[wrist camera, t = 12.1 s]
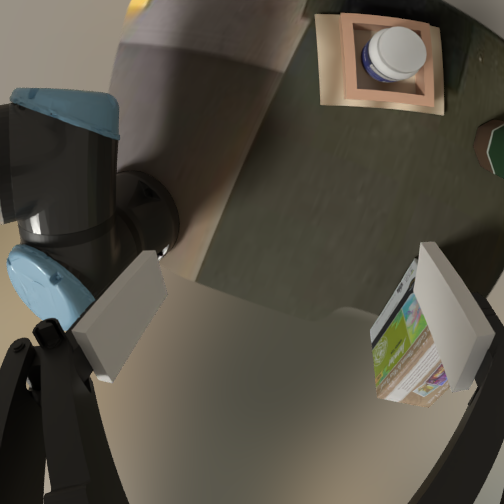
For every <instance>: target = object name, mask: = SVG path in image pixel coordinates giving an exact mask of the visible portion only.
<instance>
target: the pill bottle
mask: <svg viewBox="0 0 504 504" xmlns="http://www.w3.org/2000/svg"><path fill="white" fill-rule="evenodd" d="M426 56H427V53H426V47H425V45H424V42H423V41H422V39H421V38H420V37H419V36H418V35H417V34H416V33H415V32H414V31H412V30H410V29H408V28H405V27H399V26H397V27H391V28H386V29H382V30H380V31H378V32H377V33H375V34H374V35H373V36H372V38H371V39H370V40H369V41H368V42H367V43H366V44H365V46H364V47H363V49H362V51H361V56H360V59H361V64H362V67H363V69H364V70H365V72H366V73H367V74H368V75H369V76H370V77H371V78H373V79H375V80H376V81H379V82H383V83H391V82H396V81H400V80H405V79H408V78H410V77H412V76H414V75H415V74H416V73H417V72H418V70H419V69H420V68H421V67H422V66H423V65H424V63H425V61H426Z"/></svg>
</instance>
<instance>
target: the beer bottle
mask: <svg viewBox="0 0 504 504" xmlns="http://www.w3.org/2000/svg"><path fill="white" fill-rule="evenodd" d="M473 148H474V150H475V153H476V155H477V158H478V161H479V164H480V166H482V167H483V168H485V169H486V170H488V171H490V172H492V173H494V174H496V175H498V176H499V177H501V178H503V179H504V121H500V120H491V121H489V122H487V123H485V124H483V125H482V126H480V127H478V129H477V133H476V137H475V141H474V145H473Z"/></svg>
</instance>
